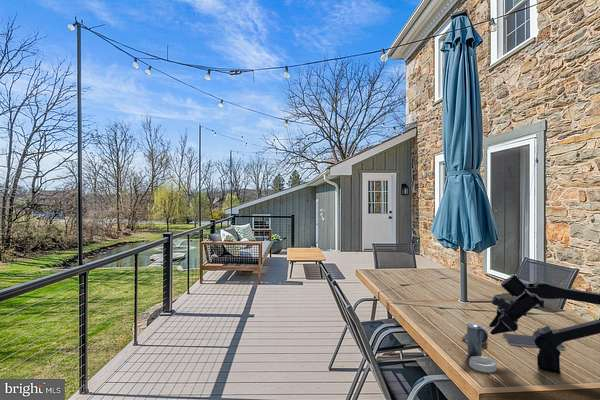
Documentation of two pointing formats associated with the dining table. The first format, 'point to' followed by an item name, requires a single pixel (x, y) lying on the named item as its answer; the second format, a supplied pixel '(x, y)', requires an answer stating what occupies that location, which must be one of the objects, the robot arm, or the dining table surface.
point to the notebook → (524, 341)
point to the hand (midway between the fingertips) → (490, 330)
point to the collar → (482, 364)
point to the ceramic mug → (483, 335)
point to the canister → (474, 340)
